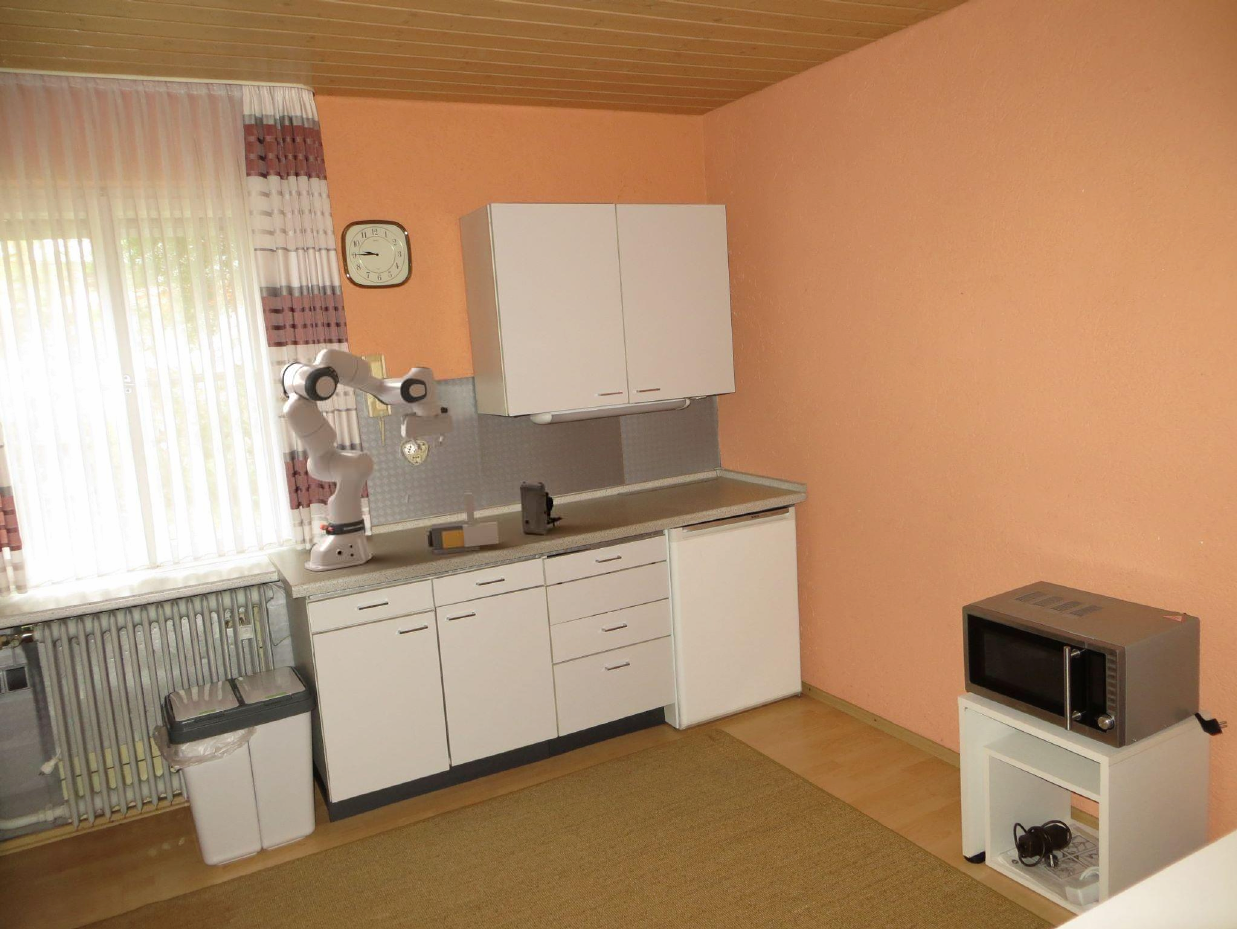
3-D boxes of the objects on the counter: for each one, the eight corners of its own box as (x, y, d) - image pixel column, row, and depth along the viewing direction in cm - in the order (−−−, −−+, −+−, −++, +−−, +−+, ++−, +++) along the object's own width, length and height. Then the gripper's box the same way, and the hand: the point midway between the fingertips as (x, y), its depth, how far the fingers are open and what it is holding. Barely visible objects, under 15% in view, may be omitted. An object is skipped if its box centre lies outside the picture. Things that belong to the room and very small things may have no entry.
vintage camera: (566, 528, 347) (562, 477, 345) (543, 535, 334) (539, 482, 332) (545, 527, 352) (542, 477, 350) (522, 534, 339) (518, 482, 337)
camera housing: (429, 555, 316) (426, 527, 314) (429, 549, 325) (426, 522, 324) (479, 549, 319) (477, 522, 317) (478, 543, 328) (476, 517, 327)
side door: (464, 547, 317) (459, 494, 315) (464, 546, 319) (459, 493, 317) (498, 543, 319) (494, 491, 317) (498, 542, 321) (494, 490, 319)
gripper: (404, 413, 325) (408, 451, 327) (453, 407, 338) (457, 444, 340) (396, 413, 330) (400, 450, 331) (445, 407, 343) (448, 443, 345)
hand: (429, 447), depth 336 cm, fingers open, 8 cm apart
